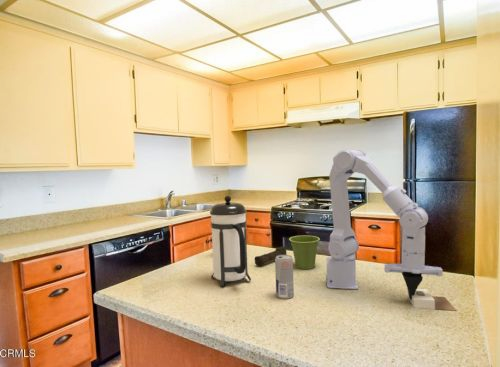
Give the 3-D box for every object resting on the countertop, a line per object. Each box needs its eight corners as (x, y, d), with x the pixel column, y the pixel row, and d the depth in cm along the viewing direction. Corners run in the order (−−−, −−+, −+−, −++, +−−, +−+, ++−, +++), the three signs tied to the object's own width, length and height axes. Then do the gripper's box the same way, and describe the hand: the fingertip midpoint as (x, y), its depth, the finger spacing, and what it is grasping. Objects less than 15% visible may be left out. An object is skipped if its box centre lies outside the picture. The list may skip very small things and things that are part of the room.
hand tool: (261, 266, 127) (260, 255, 128) (254, 265, 130) (253, 254, 130) (291, 256, 141) (290, 246, 141) (284, 255, 144) (283, 245, 144)
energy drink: (283, 291, 103) (282, 253, 102) (297, 295, 99) (296, 256, 98) (272, 296, 99) (271, 257, 99) (286, 300, 95) (285, 260, 95)
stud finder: (414, 307, 88) (414, 297, 88) (407, 296, 96) (407, 287, 95) (434, 309, 87) (434, 298, 86) (426, 297, 94) (426, 287, 94)
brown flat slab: (435, 309, 86) (435, 308, 86) (425, 296, 95) (425, 295, 95) (456, 310, 85) (456, 310, 85) (444, 297, 94) (444, 296, 94)
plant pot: (284, 265, 130) (283, 237, 130) (308, 261, 135) (308, 234, 135) (300, 273, 119) (300, 243, 119) (326, 268, 124) (326, 239, 124)
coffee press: (199, 285, 110) (195, 197, 109) (223, 271, 125) (220, 194, 123) (245, 292, 103) (241, 198, 101) (264, 276, 117) (262, 194, 116)
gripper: (387, 253, 89) (386, 301, 89) (447, 256, 85) (445, 307, 86) (383, 246, 95) (382, 292, 96) (438, 249, 92) (437, 296, 93)
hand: (411, 298), depth 91 cm, fingers closed, pressing on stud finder
